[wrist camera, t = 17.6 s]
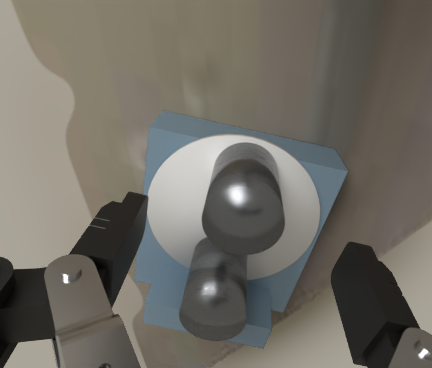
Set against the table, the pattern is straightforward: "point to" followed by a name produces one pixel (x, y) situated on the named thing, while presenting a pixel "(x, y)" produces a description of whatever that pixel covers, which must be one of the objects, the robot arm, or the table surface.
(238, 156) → the cylinder
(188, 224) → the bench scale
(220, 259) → the cylinder
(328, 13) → the table surface
